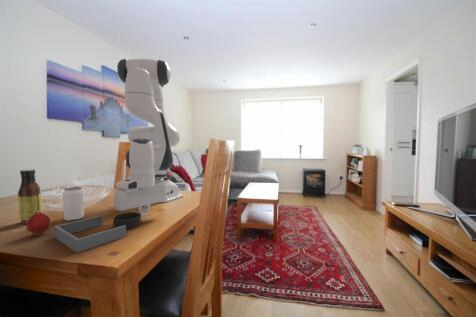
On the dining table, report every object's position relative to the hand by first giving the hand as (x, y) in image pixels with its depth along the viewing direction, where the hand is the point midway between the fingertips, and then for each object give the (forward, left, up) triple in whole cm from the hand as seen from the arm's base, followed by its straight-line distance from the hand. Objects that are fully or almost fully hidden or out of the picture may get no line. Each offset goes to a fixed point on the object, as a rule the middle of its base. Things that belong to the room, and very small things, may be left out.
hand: (143, 216), depth 85 cm
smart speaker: (+6, 0, -2) cm, 6 cm away
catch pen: (+18, 0, -2) cm, 18 cm away
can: (+14, -25, -2) cm, 29 cm away
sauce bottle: (+25, -33, -2) cm, 42 cm away
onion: (+27, -15, -2) cm, 31 cm away
